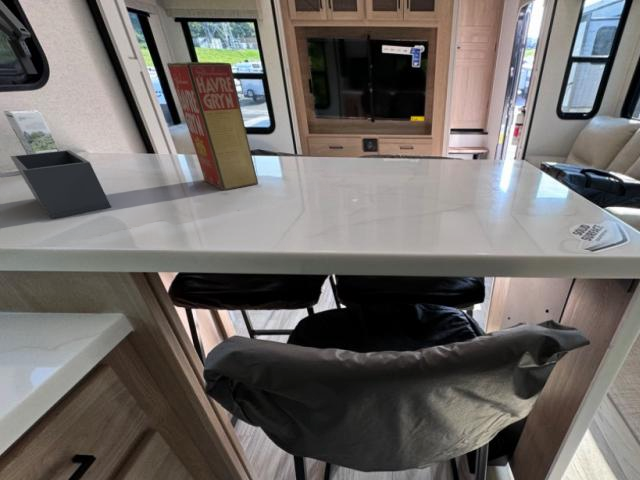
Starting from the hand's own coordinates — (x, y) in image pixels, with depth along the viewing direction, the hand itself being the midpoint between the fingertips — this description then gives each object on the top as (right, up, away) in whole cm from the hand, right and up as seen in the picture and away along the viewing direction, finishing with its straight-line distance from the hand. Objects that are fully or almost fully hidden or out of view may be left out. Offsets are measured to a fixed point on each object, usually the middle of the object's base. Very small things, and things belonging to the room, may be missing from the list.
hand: (2, 73), depth 82 cm
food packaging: (+54, -25, +4) cm, 60 cm away
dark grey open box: (+28, -35, -11) cm, 46 cm away
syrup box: (-1, -19, +13) cm, 23 cm away
